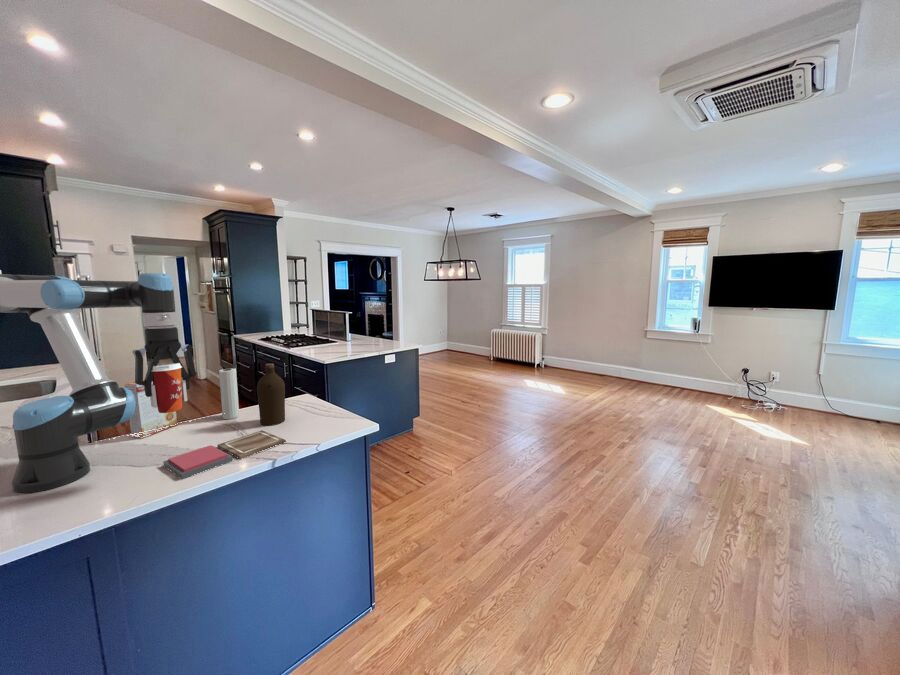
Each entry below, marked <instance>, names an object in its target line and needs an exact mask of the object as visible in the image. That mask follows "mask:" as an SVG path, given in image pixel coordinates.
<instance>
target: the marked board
mask: <svg viewBox="0 0 900 675" xmlns="http://www.w3.org/2000/svg"><path fill="white" fill-rule="evenodd" d="M284 442H286V443H287V440H286V439H284V438H282V437H280V436H277V435H274V434H272V433H271V432H267V431H265V430H262V429H261V430H258V431H256V432H253V433H249V434H246V435H243V436H239V437H237V438H234V439H231V440H227V441H225V442H221V443H219V444H217V448H218V447H219V448H218V449H220V448H221V449H220V450H222V449H223V450H222V451H224V450H225V451H224V452H226V451H227V452H229V453H231V454H233V455H235V456H236V457H235V456H234V457H235V458H237V457H238V458H237V459H239V458H240V460H243V459H245V458H244V457H246V458H248V457H250V455H251V456H253V455H252V454H254V453H256V454H258V453H257V452H259V451H262V450H265V449H267V448H270V447H273V446H275V445H278V446H280V445H279V444H281V443H283V444H285V443H284ZM281 445H282V444H281ZM275 447H276V446H275ZM273 448H274V447H273ZM270 449H271V448H270ZM267 450H268V449H267ZM265 451H266V450H265ZM227 452H226V453H227ZM262 452H263V451H262ZM229 453H228V454H229ZM259 453H260V452H259ZM231 454H230V455H231ZM233 455H232V456H233ZM254 455H255V454H254ZM247 456H248V457H247ZM242 458H243V459H242Z"/></svg>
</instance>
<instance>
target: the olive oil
mask: <svg viewBox="0 0 900 675" xmlns="http://www.w3.org/2000/svg"><path fill="white" fill-rule="evenodd" d="M264 369H265V370H264V371H265V373H264V374H263V376H262V377H261V378H260V379H259V380H258V381H257V385H256V393H257V394H256V395H257V403H258V411H259V423H260V425H261V426H268V427H269V426H276V425H279V424H282V423H284V422H285V421H286V384H285V381H284V379H283V378H282V377H281V376H279V375H278V374H277V373H276V372H275V371H276V370H275V364H274V363H273V362H272V363H266V364H265V368H264Z"/></svg>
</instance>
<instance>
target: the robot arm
mask: <svg viewBox="0 0 900 675" xmlns="http://www.w3.org/2000/svg"><path fill="white" fill-rule="evenodd" d="M172 280H173V279H172V276H171V275H169V274H167V273H161V272H160V273H155V272H154V273H153V272H151V273H150V272H149V273H147V272H145V273H139V275H138V280H130V281H129V280H90V279H89V280H88V279H72V278H69V277H66V276H58V275H52V274H47V275H36V274H35V275H33V274H31V275H30V274H10V273H9V274H6V273H1V274H0V313H7V314H8V313H12V314H13V313H14V314H17V313H27V315H28V317H29V319H30V321H31V322H34V323H38V324H39V325H40V327H41V328H42V330H43V332H44V334H45V336H46V338H47V340H48V342H49V344H50V346H51V348H52V350H53V353H54V354H55V357H56V359H57V361H58V363H59V365H60V367H61V369H62V371H63V372H64V375H65V377H66V379H67V381H68V383H69V385H70V387H71V388H72V389H71V391H70V393H69V394H68V395H57V396H53V397H45V398H42V399H38V400H35V401H32V402H28V403H26V404H24V405H22V406H19V407H18V408H17V409H16V410H15V411H14V412H13V414H12V429H13V431H14V432H13V433H14V438H15V443H16V448H17V449H16V450H17V455H18V456H17V457H18V463H17V465H16V470H15V472H14V475H13V479H12V482H11V483H12V484H11V485H12V489H13V491H14V492H15V493H20V494H28V493H36V492H42V491H47V490H50V489H55V488H58V487H62V486H64V485H68V484H71V483H72V482H75V481H78V480H79V479H82V478H83V477H85V476H86V475H88V474H89V473H90V471H91V465H90V461H89V460H88V458H87V457H86V455H85V454H84V452H83V451H82V450H81V448H80V444H79V437H81V436H84V435H87V434H92V433H95V432H97V431H98V432H99V431H101V430H104V429H108V428H111V427H116V426H118V425H119V424H123V423H125V422H129V419H130V418H131V417H132V415H133V414H134V410H135V405H136V404H135V397H134V395H133V393H132V392H131V390H129V389H128V388H125V387H124V386H121V387H120V386H119V384H118V383H117V381H116V380H113V379H109V377H108V376H107V374H106V371H105V369H104V367H103V365H102V362H100V359H99V357H98V355H97V354H96V352H95V349H94V347H93V345H92V343H91V341H90V340H89V337H88V335H87V333H86V331H85V329H84V327H83V325H82V323H81V321H80V319H79V317H78V316H79V315H80V313H81V312H82V310H81V309H107V308H108V309H109V308H111V309H112V308H141V311H142V320H143V321H142V322H143V327H145V329H144V336H145V337H144V338H145V345H144V347H143V348H140V349H134V350H132V354H133V356H134V358H135V360H134V363H135V364H134V366H135V367H134V371H135V372H134V382H135V383H136V384H138V385H143V386H144V388H145V395H146V396H147V397H150V400H151V406H152V407H153V408H157V400H156V391H155V385H153V384H151V383H152V380H153V377H154V375H153V371H152V370H153V367H154V366H157V365H158V364H160V363H159V362H160V360H164V359H170V360H171V362H173V363H180V365H181V366H182V368H181V384H182V402H188V401H189V400H188V393H187V390H190V389H191V388H190V387H191V385H190V380H191V378H193V377H195V376H197V373H196V369H195V363H194V359H193V356H192V349H193V345H192V344H182V343H181V342H180V339H179V331H178V327H177V325H178V320H177V314H176V304H175V302H176V301H175V292H174V291H175V290H174V289H175V288H174V286H173V285H174V284H173V281H172ZM180 349H181V351H182V352H183V356H184V360H185V364H186V369H185V367H184V365H183V364H182V361H181V360H180V358H179V356H178V354H177V353H178V352H179V351H180ZM146 352H147V353H148V354H149V355H150V356H151V357H150V360H149V364H148V368H147V371H146V374H145V378H144V357H145V355H146ZM143 380H144V381H143Z"/></svg>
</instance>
